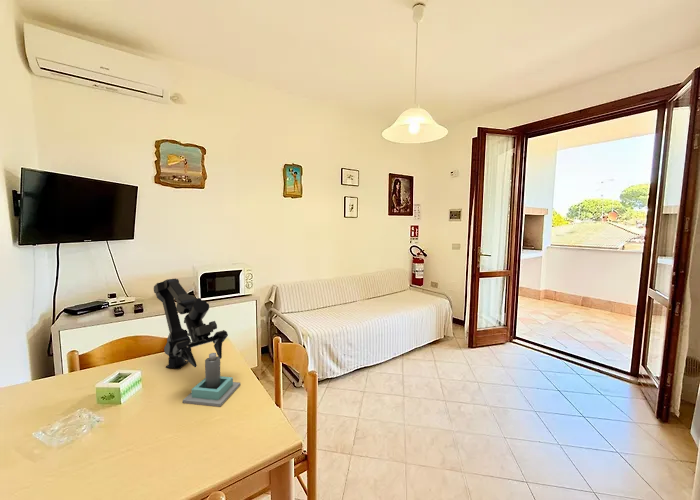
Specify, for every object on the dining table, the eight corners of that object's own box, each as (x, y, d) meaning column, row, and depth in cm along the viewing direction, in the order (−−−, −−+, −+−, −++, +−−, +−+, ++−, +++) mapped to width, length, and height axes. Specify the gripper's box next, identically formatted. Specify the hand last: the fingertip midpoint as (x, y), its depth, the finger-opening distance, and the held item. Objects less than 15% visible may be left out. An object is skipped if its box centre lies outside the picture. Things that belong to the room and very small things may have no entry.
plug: (206, 388, 109) (205, 352, 108) (220, 386, 111) (220, 350, 110) (204, 395, 105) (204, 358, 103) (220, 393, 106) (219, 356, 105)
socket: (206, 381, 116) (206, 372, 115) (240, 385, 114) (240, 375, 114) (182, 402, 102) (182, 391, 101) (220, 406, 100) (220, 395, 100)
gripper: (175, 321, 104) (188, 361, 98) (225, 310, 118) (240, 344, 112) (167, 336, 109) (179, 375, 103) (216, 324, 124) (229, 358, 118)
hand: (208, 362), depth 109 cm, fingers open, 9 cm apart
